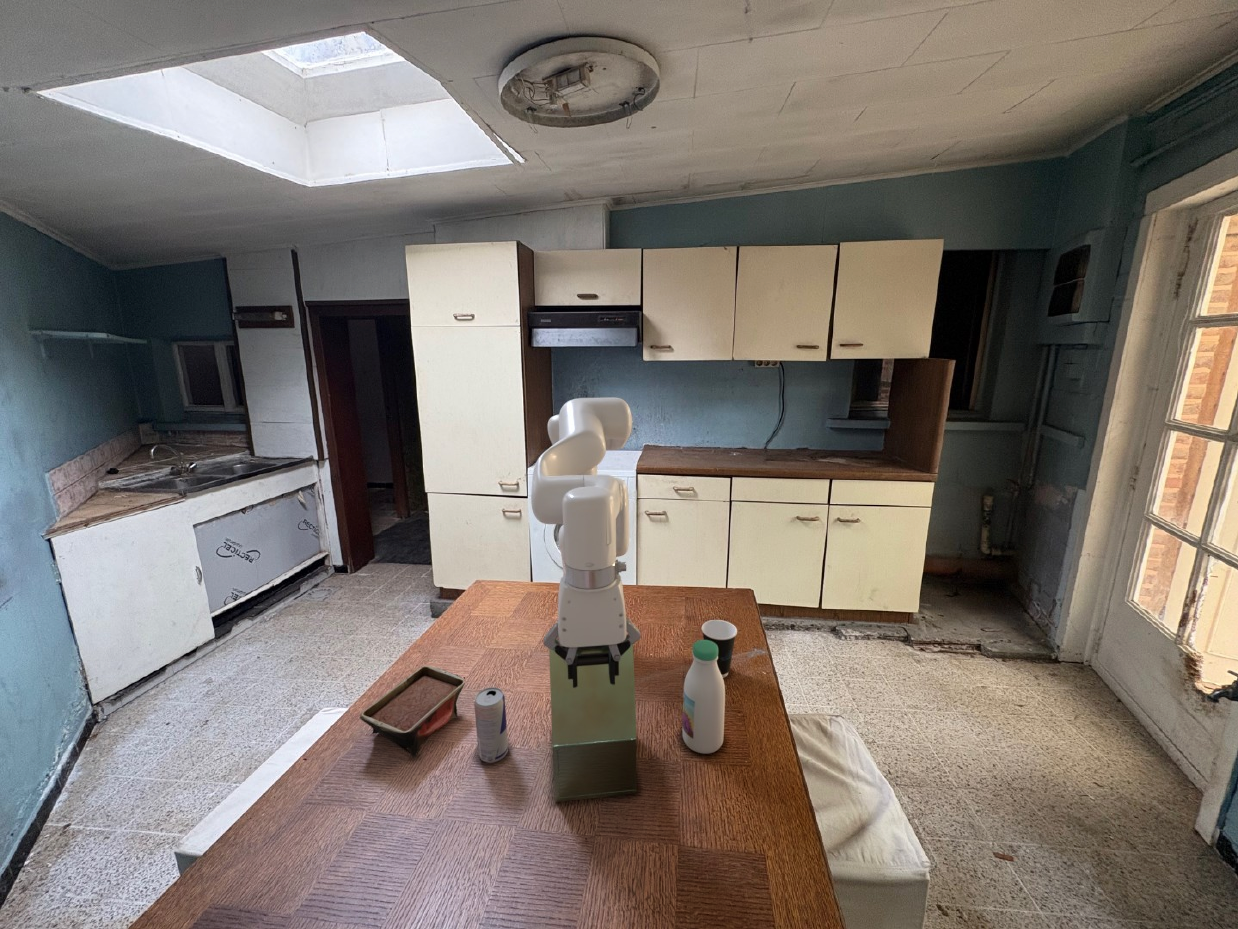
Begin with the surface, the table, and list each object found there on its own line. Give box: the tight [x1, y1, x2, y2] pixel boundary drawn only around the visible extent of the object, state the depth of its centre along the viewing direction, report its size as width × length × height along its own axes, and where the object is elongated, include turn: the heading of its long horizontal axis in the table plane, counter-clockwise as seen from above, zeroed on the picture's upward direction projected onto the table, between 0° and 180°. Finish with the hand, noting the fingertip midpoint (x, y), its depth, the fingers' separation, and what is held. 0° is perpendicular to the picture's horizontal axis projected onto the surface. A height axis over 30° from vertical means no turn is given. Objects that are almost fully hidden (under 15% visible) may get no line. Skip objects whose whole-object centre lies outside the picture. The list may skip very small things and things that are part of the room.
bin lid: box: [548, 634, 638, 746], centre depth 79 cm, size 16×14×5 cm
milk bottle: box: [682, 639, 726, 755], centre depth 93 cm, size 8×8×20 cm
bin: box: [552, 738, 638, 803], centre depth 90 cm, size 16×14×11 cm
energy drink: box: [473, 686, 509, 764], centre depth 92 cm, size 5×5×12 cm
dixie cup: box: [701, 619, 738, 679], centre depth 114 cm, size 8×8×11 cm
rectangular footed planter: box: [359, 665, 466, 758], centre depth 99 cm, size 14×18×10 cm
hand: (593, 679), depth 77 cm, fingers closed on bin lid, 5 cm apart
